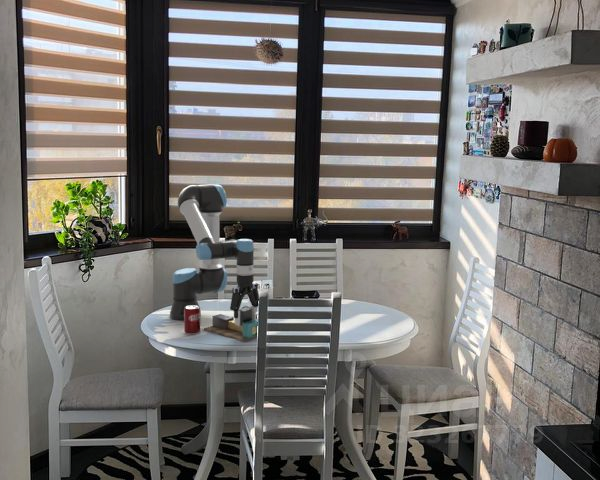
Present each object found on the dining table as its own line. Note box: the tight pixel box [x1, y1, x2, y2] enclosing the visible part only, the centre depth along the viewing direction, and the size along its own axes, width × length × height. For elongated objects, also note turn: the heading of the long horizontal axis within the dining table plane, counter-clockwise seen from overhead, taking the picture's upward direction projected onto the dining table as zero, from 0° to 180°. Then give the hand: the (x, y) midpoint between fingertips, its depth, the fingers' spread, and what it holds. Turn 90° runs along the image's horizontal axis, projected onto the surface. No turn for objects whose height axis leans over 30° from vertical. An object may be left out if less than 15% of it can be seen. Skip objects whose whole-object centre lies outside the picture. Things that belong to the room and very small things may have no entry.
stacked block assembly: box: [211, 313, 258, 339], centre depth 341 cm, size 26×10×6 cm, turn 49°
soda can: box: [183, 305, 201, 335], centre depth 341 cm, size 7×7×12 cm
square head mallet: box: [226, 307, 257, 334], centre depth 339 cm, size 18×5×10 cm, turn 49°
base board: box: [203, 325, 258, 343], centre depth 342 cm, size 27×14×1 cm, turn 49°
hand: (245, 322), depth 337 cm, fingers open, 9 cm apart
